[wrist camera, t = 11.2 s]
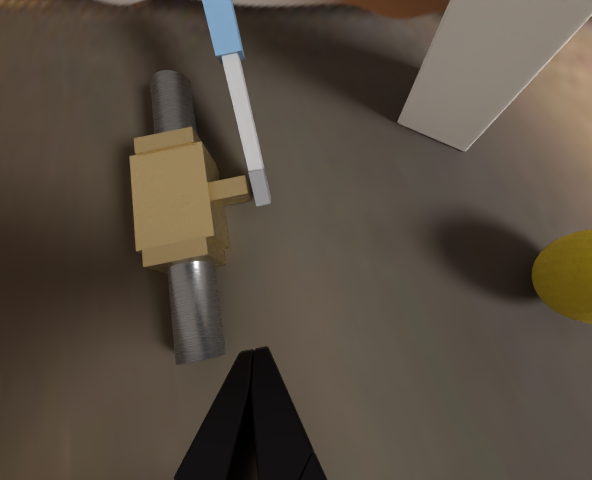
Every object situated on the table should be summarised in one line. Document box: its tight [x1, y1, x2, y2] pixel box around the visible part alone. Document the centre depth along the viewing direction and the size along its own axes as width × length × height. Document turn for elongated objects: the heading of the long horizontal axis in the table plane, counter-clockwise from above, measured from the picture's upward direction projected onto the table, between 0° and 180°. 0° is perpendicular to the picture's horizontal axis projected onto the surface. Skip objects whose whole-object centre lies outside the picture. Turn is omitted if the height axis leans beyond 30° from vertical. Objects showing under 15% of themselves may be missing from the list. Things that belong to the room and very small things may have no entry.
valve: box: [130, 70, 252, 365], centre depth 23 cm, size 22×8×4 cm, turn 11°
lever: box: [202, 0, 271, 206], centre depth 20 cm, size 3×3×18 cm
